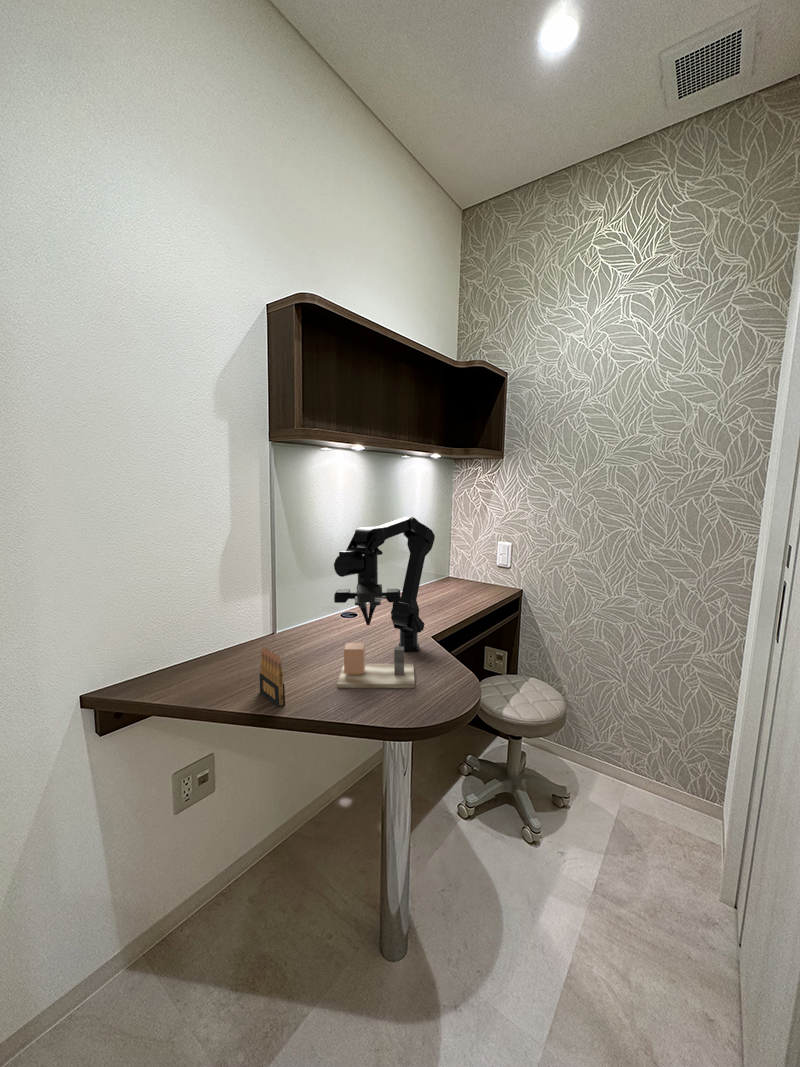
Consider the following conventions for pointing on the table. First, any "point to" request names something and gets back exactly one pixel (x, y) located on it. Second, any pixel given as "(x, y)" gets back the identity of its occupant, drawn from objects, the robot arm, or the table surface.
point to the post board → (381, 675)
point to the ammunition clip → (272, 678)
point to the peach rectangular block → (354, 658)
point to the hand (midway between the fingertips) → (368, 624)
